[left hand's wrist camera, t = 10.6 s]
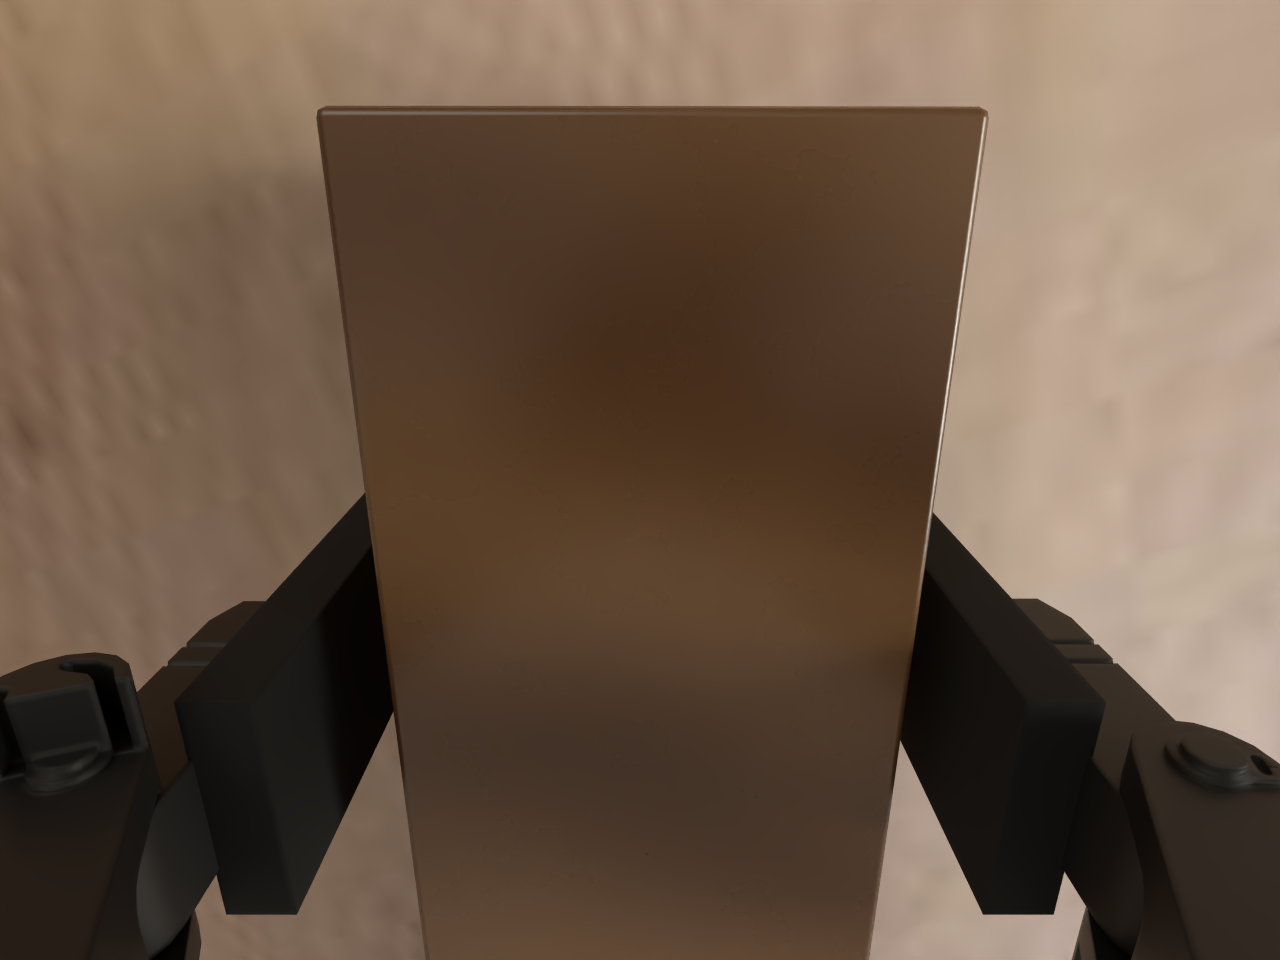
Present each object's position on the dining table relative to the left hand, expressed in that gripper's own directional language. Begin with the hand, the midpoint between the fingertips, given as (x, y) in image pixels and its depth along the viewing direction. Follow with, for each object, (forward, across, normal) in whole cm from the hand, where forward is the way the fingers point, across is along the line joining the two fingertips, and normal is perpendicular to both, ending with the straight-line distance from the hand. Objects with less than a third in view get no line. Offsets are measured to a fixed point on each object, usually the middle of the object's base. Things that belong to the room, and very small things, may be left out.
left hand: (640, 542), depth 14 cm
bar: (+2, 0, -21) cm, 21 cm away
